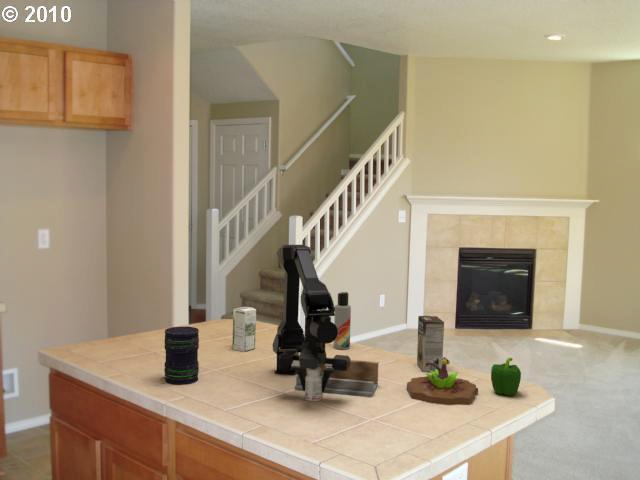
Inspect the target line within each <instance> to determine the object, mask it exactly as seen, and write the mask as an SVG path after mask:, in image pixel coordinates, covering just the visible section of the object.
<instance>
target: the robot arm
mask: <svg viewBox="0 0 640 480" xmlns="http://www.w3.org/2000/svg"><path fill="white" fill-rule="evenodd" d="M311 254H312V250H311V247H310V246H308V245H303V244H283V245H282V246H281V247H280V248H278V251H277V259H278V261H279V265H280V267H281V269H282V270H283V272H284V279H283V283H284V284H283V308H282V309H283V313H282V320H281V322H280V323H279V325H278V326H277V331H276V334H275V337H274V338H273V339H274V340H273V343H272V352H274V353H275V354H276V370H274V373H275V374H280V375H282V374H283V375H293V376H295V375H298V376H299V379H300V382H301V385H302V388H303V391H302V392H305V377H306V368H311V369H316V368H317V367H318V364H323V365H325V366H326V368H325V369H324V370H323V374H324V375H323V383H322V393H323V394H325V393H324V391H325V388H326V386H327V383H328V380H329V378H330V375H331V373H333V372H335V371H336V370H341V371H346V370H347V369H348V368H349V366H350V360H351V358H350V356H349V355H345V354H343V355H342V354H335V355H334V357H327V351H326V345H328V344H331V343H334V340H335V339H336V338H337V335H338V330H337V327H336V325H335V324H334V322H332V317H335V304H334V300H333V297H332V294H331V292H329V289H328V288H327V285H326V284H325V283H323V282H322V281H321V280H320V279H319V275H318V273H317V271H316V268H315V264H314V262H313V261H314V260H313V258H312V256H311ZM300 282H301V285H302V290H301V294H300ZM300 304H301V309H302V311H303V315H304V329H303V327H302V326H301V325H300V323H299V310H300V308H299V307H300Z"/></svg>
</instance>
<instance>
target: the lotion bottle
mask: <svg viewBox="0 0 640 480" xmlns="http://www.w3.org/2000/svg"><path fill="white" fill-rule="evenodd" d="M351 306H352V305H349V293H348V291H343V292H342V291H341V292H339V293H337V304H334V307H335V311H334V314H335V316H334V322H333V323H334V324H335V325H336V327H337V330H338V335H337V338H336V339H335V340H334V341H333V348H334V349H335V350H349V349H350V347H351V318H352V317H351V316H352V315H351V314H352V308H351Z"/></svg>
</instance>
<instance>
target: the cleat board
mask: <svg viewBox="0 0 640 480" xmlns="http://www.w3.org/2000/svg"><path fill="white" fill-rule="evenodd" d="M318 367H320V368H321V369H322V374H321V375H322V376H323V375H324V374H323V370H324V369H325V368H326V366H325V365H323V364H318ZM306 375H307V368H306ZM295 378H296V379H295V380H296V383H295V385H294V391H300V392H301V391H302V392H304V391H303V388H302V385H301V382H300V379H299V376H298V374H296V377H295ZM378 386H379V361H371V360H370V361H368V360H357V359H356V360H355V359H350V366H349V368H348V369H347V370H346V371H341V370H336V371H335V372H333V373H331V375H330V378H329V380H328V383H327V386H326V388H325V391H324V393H323V394H335V395H345V396H355V397H366V398H373V396H374V394H375V392H376V390H377V388H378Z"/></svg>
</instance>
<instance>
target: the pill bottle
mask: <svg viewBox="0 0 640 480" xmlns="http://www.w3.org/2000/svg"><path fill="white" fill-rule="evenodd" d="M321 374H322V369H321V368H320V367H317V368H316V369H311V368H307V375H306V377H305V391H304V399H305V400H307V401H309V402H319V401H321V400H323V394H324V393H322V383H323V376H322V375H321Z"/></svg>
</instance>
